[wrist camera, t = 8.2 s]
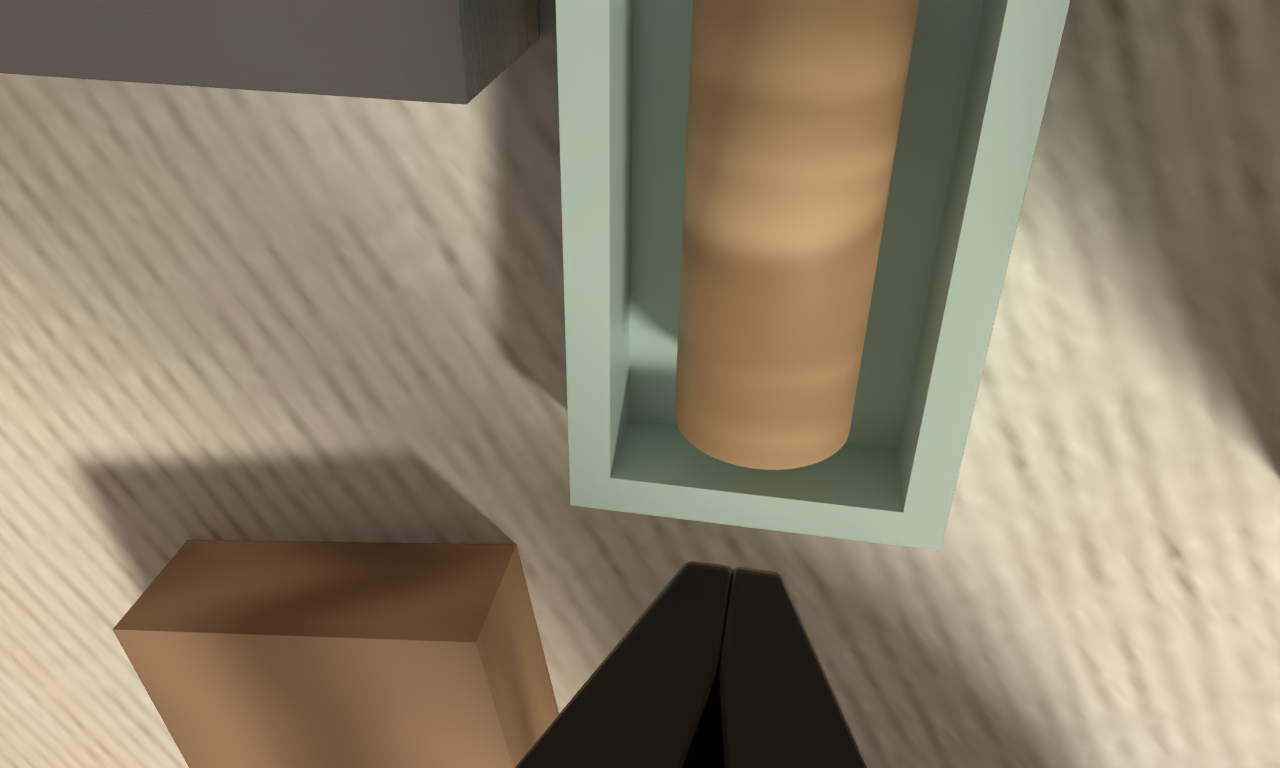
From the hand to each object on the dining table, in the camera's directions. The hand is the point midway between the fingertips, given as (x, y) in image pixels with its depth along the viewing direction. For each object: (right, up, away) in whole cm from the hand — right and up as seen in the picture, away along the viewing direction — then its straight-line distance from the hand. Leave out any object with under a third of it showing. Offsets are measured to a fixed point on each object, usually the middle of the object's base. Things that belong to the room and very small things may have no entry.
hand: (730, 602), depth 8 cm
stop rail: (-7, +9, +9) cm, 15 cm away
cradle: (+2, +6, +9) cm, 11 cm away
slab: (-8, -5, +18) cm, 20 cm away
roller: (+2, +6, +9) cm, 11 cm away
